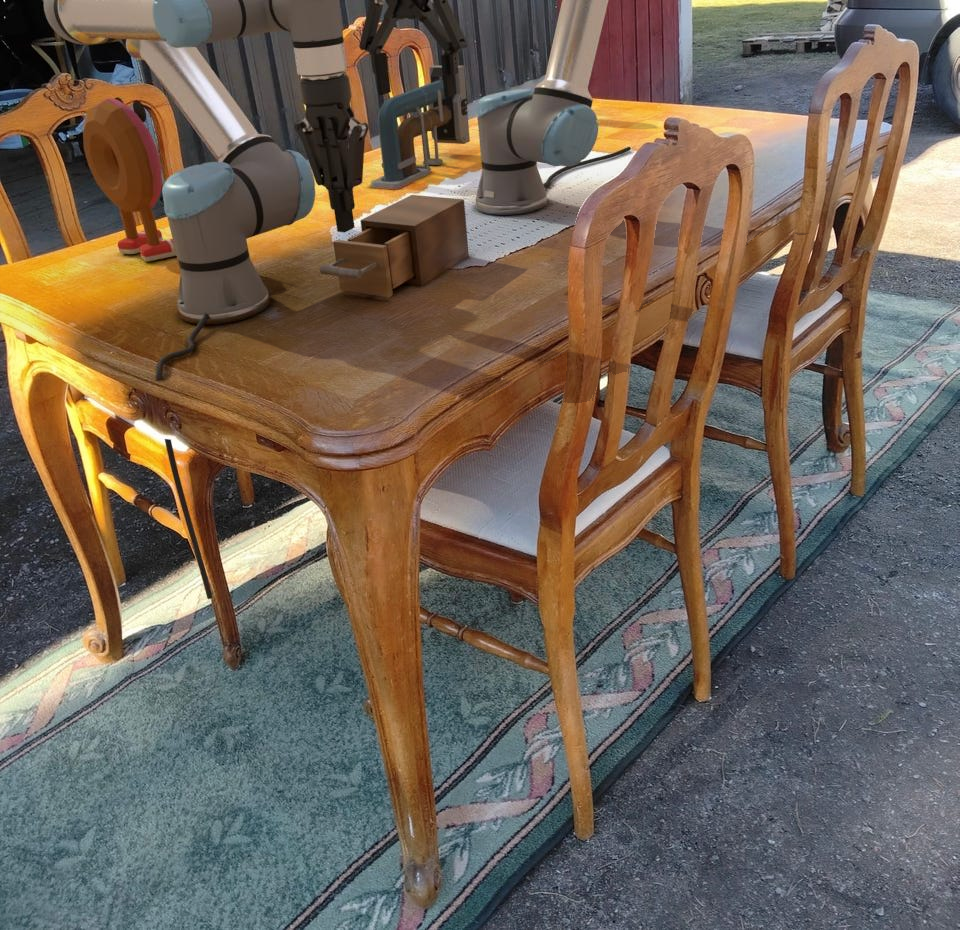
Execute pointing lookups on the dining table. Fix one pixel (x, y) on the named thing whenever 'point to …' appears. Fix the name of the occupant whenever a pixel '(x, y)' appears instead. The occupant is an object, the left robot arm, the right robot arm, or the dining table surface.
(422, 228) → the cabinet
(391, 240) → the drawer
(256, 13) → the left robot arm
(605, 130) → the dining table surface
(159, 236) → the toy
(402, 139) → the clamp
